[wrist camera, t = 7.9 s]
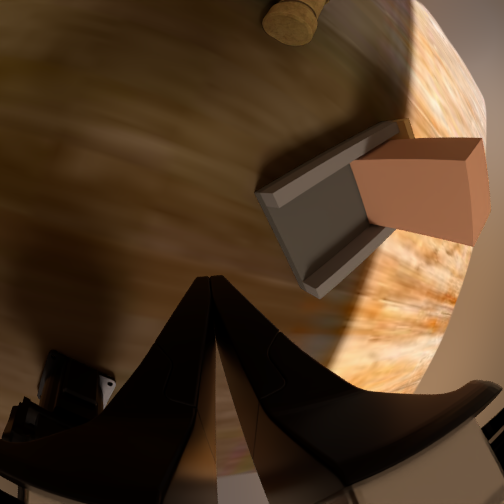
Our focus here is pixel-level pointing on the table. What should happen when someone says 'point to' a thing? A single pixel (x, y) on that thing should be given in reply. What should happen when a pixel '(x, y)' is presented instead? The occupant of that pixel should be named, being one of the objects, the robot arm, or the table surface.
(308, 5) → the gavel
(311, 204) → the gray tray
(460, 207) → the block
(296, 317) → the table surface
